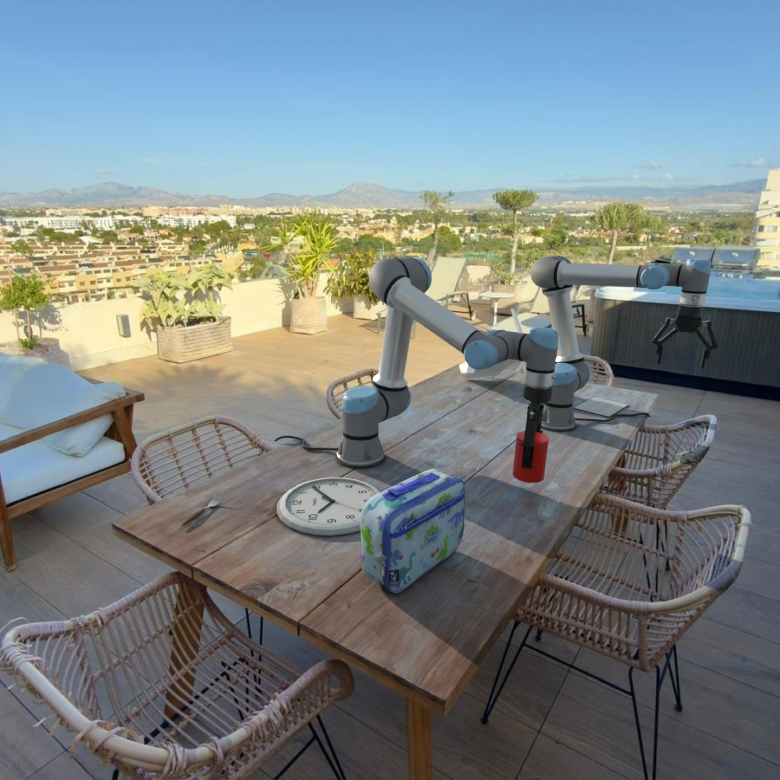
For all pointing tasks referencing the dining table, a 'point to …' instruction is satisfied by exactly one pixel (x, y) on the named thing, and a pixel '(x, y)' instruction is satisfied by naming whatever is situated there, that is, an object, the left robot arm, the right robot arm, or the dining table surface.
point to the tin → (538, 459)
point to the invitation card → (601, 406)
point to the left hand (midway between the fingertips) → (529, 460)
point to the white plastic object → (496, 369)
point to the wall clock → (325, 506)
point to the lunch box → (411, 528)
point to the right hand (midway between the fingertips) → (679, 365)
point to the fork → (211, 504)
